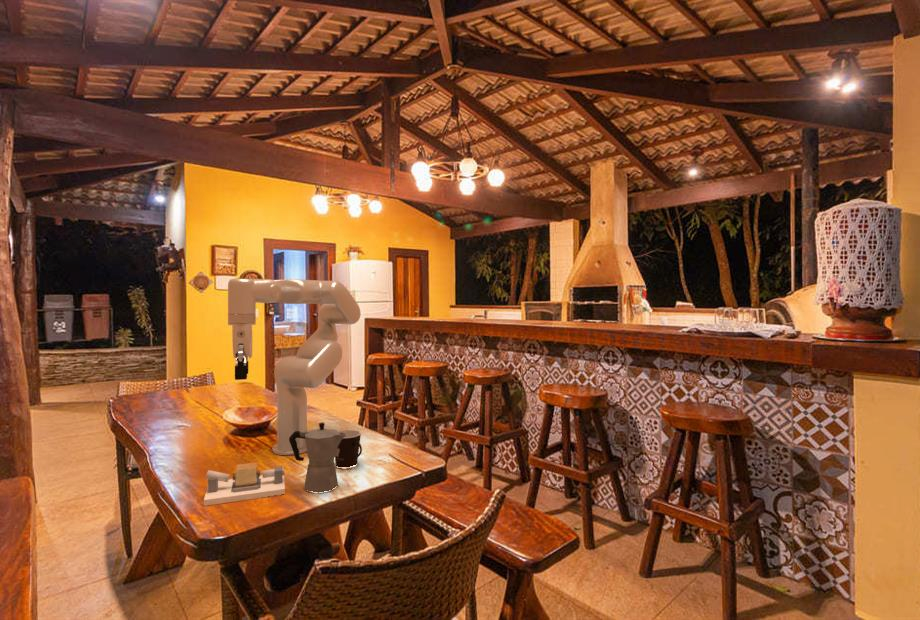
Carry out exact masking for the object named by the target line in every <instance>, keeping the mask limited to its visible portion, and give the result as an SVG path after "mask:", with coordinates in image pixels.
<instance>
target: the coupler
mask: <svg viewBox="0 0 920 620" xmlns="http://www.w3.org/2000/svg"><path fill="white" fill-rule="evenodd" d="M260 476H261V470H258V462H249V463H247V462H246V463H241V464H240V463H239V464H236V469H235V473H232V479H233V481H234V480H236V488H240V487H248V486H255V485H257V478H259V477H260Z"/></svg>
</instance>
